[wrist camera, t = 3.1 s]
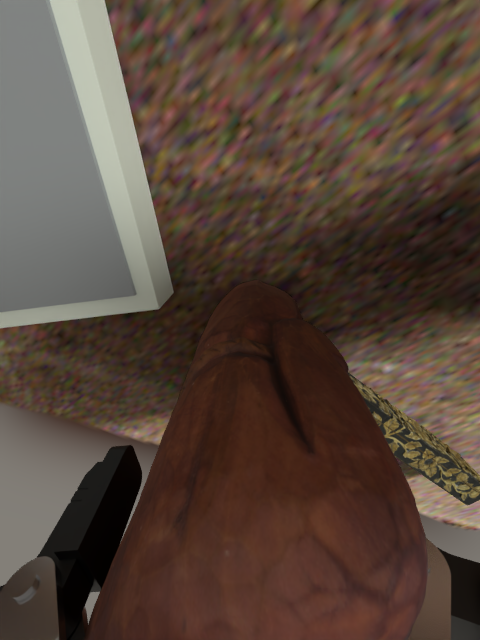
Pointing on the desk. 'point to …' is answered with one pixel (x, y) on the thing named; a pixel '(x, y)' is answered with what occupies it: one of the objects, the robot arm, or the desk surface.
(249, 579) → the wooden figurine
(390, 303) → the desk surface
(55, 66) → the plinth
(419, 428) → the decorative block
